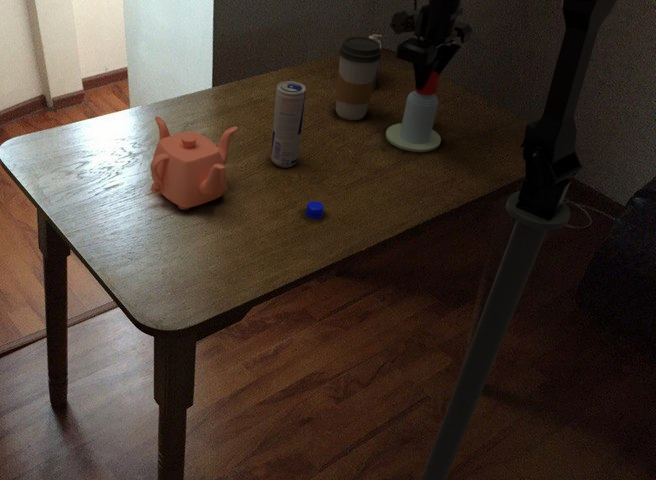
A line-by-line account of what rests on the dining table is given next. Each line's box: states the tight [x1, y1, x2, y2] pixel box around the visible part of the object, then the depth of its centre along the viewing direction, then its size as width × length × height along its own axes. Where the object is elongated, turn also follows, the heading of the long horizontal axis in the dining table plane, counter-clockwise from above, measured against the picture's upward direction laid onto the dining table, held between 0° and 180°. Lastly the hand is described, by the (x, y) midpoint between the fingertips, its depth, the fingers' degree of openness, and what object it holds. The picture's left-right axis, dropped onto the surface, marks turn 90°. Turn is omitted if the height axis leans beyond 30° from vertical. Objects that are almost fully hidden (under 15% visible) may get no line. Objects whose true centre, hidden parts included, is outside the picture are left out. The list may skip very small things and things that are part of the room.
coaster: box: [385, 122, 442, 153], centre depth 142 cm, size 11×11×1 cm
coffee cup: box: [335, 35, 382, 121], centre depth 143 cm, size 8×8×15 cm
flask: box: [367, 33, 383, 90], centre depth 158 cm, size 9×3×11 cm, turn 177°
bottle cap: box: [305, 201, 325, 220], centre depth 119 cm, size 3×3×2 cm
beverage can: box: [270, 80, 307, 169], centre depth 127 cm, size 5×5×15 cm
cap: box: [414, 71, 440, 95], centre depth 134 cm, size 4×4×3 cm
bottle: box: [400, 90, 439, 144], centre depth 137 cm, size 6×6×12 cm
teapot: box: [150, 115, 238, 211], centre depth 118 cm, size 14×14×11 cm
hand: (425, 85), depth 134 cm, fingers open, 5 cm apart
